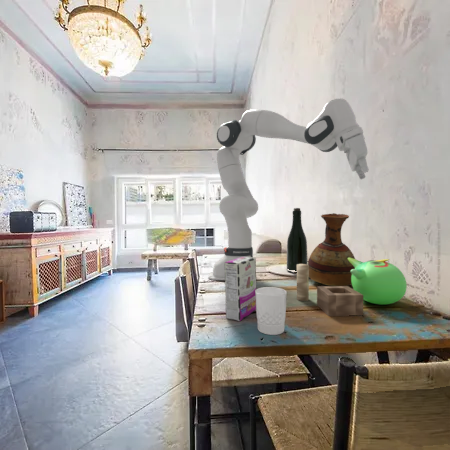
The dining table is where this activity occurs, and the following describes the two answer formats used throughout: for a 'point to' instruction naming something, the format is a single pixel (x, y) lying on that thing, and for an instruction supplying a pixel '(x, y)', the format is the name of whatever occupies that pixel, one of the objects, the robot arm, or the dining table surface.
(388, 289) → the green rounded body
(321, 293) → the socket block
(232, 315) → the candy bar box
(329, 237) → the brown clay vase
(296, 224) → the dark wine bottle
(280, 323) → the white cup
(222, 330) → the dining table surface
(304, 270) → the beech dowel
